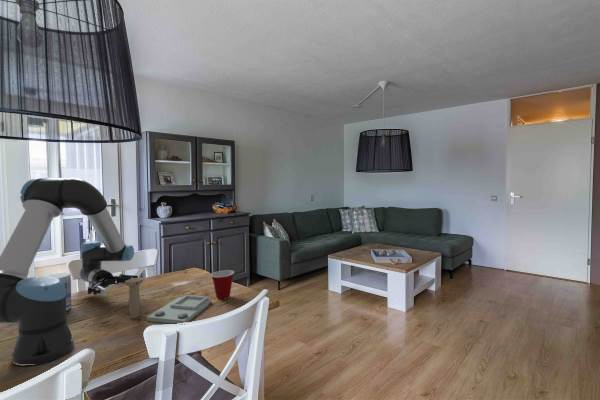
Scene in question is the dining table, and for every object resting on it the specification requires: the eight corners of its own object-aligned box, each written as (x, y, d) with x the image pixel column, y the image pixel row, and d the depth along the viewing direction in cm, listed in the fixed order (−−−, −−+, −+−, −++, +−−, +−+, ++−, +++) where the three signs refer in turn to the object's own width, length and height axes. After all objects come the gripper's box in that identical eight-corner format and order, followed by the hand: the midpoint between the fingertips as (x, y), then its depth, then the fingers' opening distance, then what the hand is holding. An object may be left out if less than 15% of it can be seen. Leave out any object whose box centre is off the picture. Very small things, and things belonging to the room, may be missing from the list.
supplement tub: (61, 315, 127) (59, 279, 126) (36, 315, 127) (35, 279, 126) (77, 305, 137) (76, 272, 136) (54, 305, 137) (53, 272, 136)
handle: (145, 315, 127) (145, 279, 126) (129, 321, 122) (128, 283, 121) (140, 312, 130) (139, 277, 129) (123, 318, 125) (122, 280, 124)
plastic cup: (217, 292, 154) (217, 268, 153) (238, 294, 152) (237, 270, 151) (206, 301, 143) (205, 275, 143) (228, 303, 141) (228, 276, 140)
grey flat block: (184, 324, 119) (184, 317, 119) (146, 320, 123) (146, 313, 122) (211, 302, 141) (211, 296, 141) (179, 300, 144) (179, 294, 144)
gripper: (129, 279, 154) (152, 288, 142) (69, 294, 134) (89, 306, 122) (128, 264, 154) (151, 272, 141) (68, 276, 134) (88, 287, 121)
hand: (123, 288), depth 131 cm, fingers open, 13 cm apart
